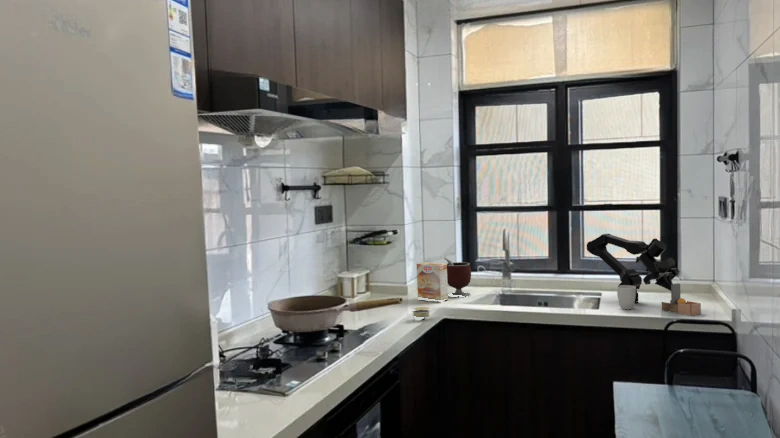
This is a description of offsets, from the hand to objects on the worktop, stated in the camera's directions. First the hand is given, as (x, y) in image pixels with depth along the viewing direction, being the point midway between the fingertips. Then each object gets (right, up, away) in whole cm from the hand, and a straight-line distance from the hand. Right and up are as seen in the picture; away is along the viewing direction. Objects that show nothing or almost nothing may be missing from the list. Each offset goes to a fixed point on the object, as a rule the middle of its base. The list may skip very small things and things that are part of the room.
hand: (673, 291), depth 254 cm
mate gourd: (-88, -10, +59) cm, 106 cm away
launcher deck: (0, -9, 0) cm, 9 cm away
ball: (+2, -5, -3) cm, 6 cm away
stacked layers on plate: (-111, -14, +6) cm, 112 cm away
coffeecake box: (-102, -11, +48) cm, 114 cm away
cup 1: (-17, -9, +9) cm, 21 cm away
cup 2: (+4, -9, -5) cm, 11 cm away
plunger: (+1, -6, 0) cm, 6 cm away
